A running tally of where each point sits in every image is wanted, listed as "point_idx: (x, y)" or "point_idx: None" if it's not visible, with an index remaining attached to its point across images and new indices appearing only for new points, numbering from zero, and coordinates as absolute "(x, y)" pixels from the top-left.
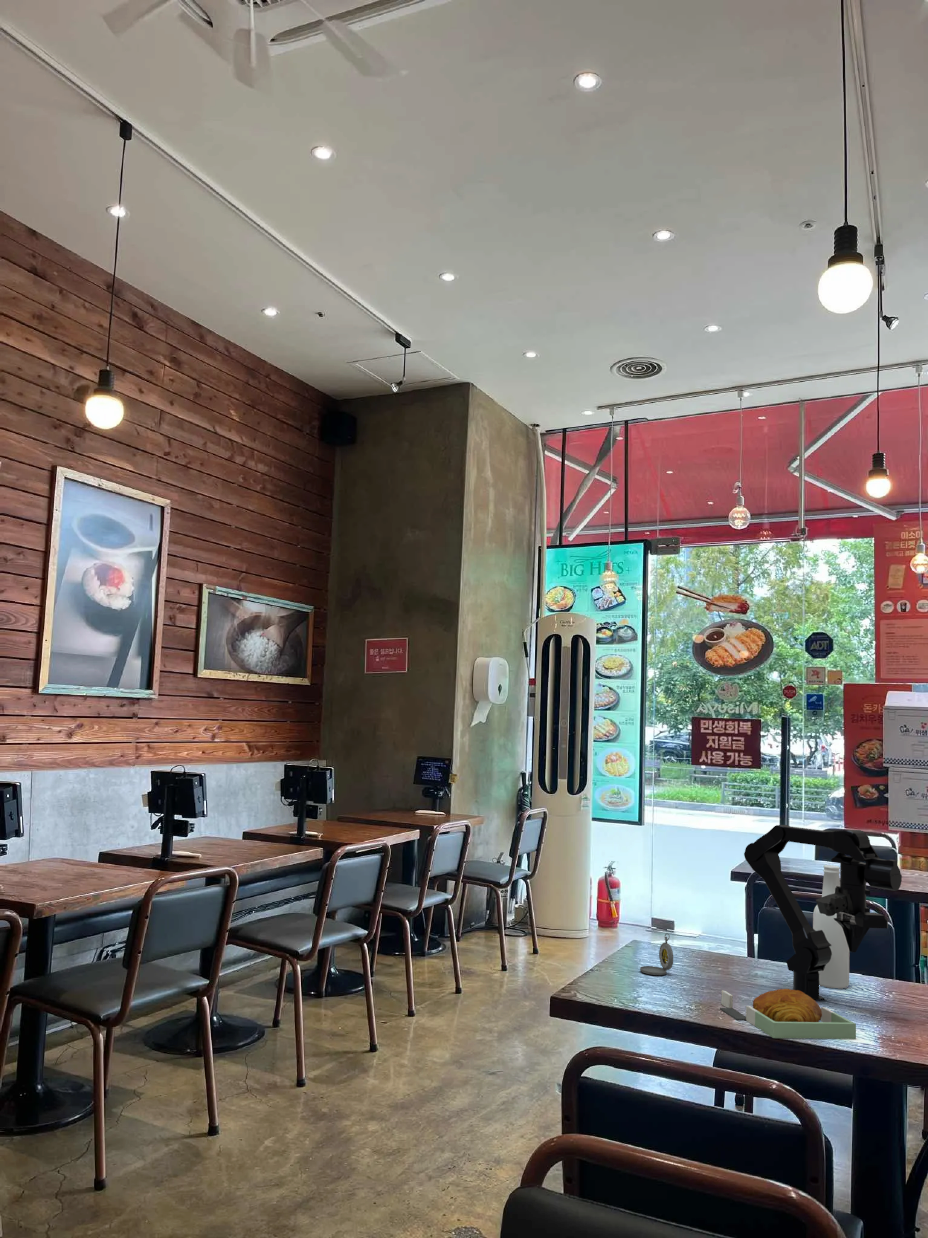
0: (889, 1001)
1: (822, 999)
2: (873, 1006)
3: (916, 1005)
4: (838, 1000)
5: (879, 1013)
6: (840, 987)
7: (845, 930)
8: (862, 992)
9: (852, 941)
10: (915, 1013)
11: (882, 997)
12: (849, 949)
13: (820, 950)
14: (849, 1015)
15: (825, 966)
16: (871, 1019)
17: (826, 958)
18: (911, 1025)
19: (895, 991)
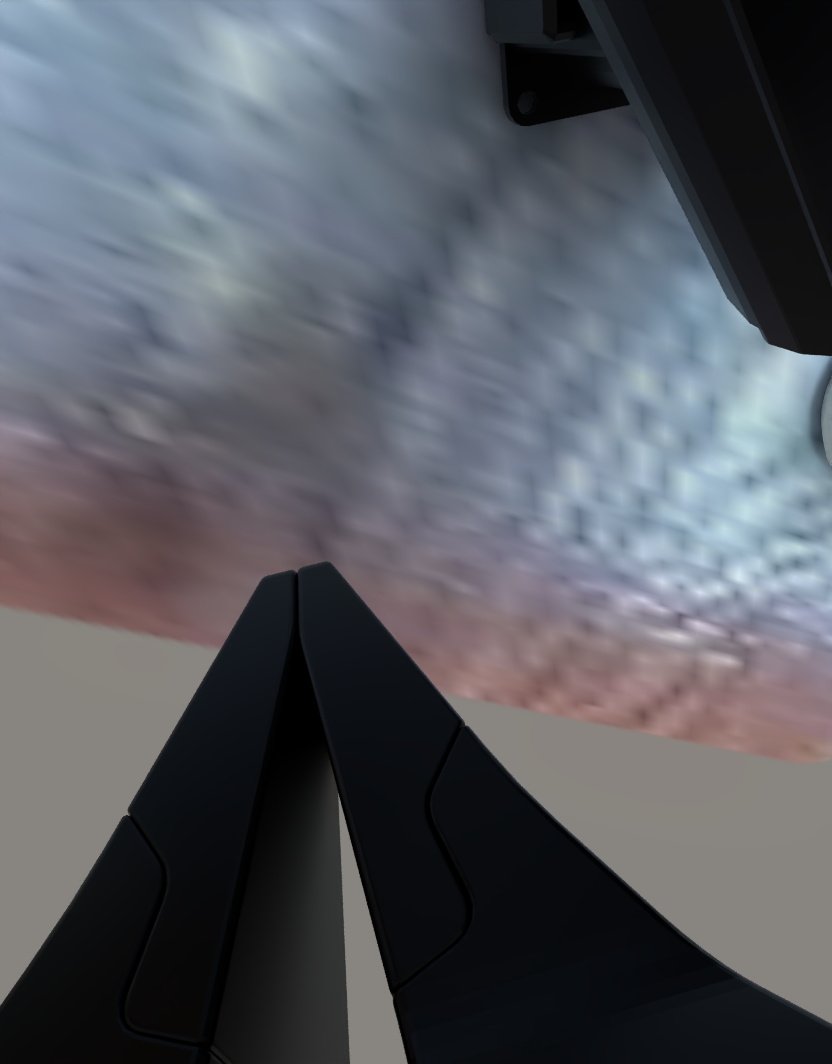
0: (560, 603)
1: (504, 90)
2: (432, 485)
3: (499, 697)
4: (553, 278)
5: (257, 469)
6: (824, 410)
7: (426, 928)
8: (739, 518)
9: (174, 763)
10: None
11: (637, 591)
12: (327, 578)
13: (719, 15)
14: (73, 185)
15: None
16: (32, 351)
17: (684, 199)
18: (17, 577)
19: (739, 673)
